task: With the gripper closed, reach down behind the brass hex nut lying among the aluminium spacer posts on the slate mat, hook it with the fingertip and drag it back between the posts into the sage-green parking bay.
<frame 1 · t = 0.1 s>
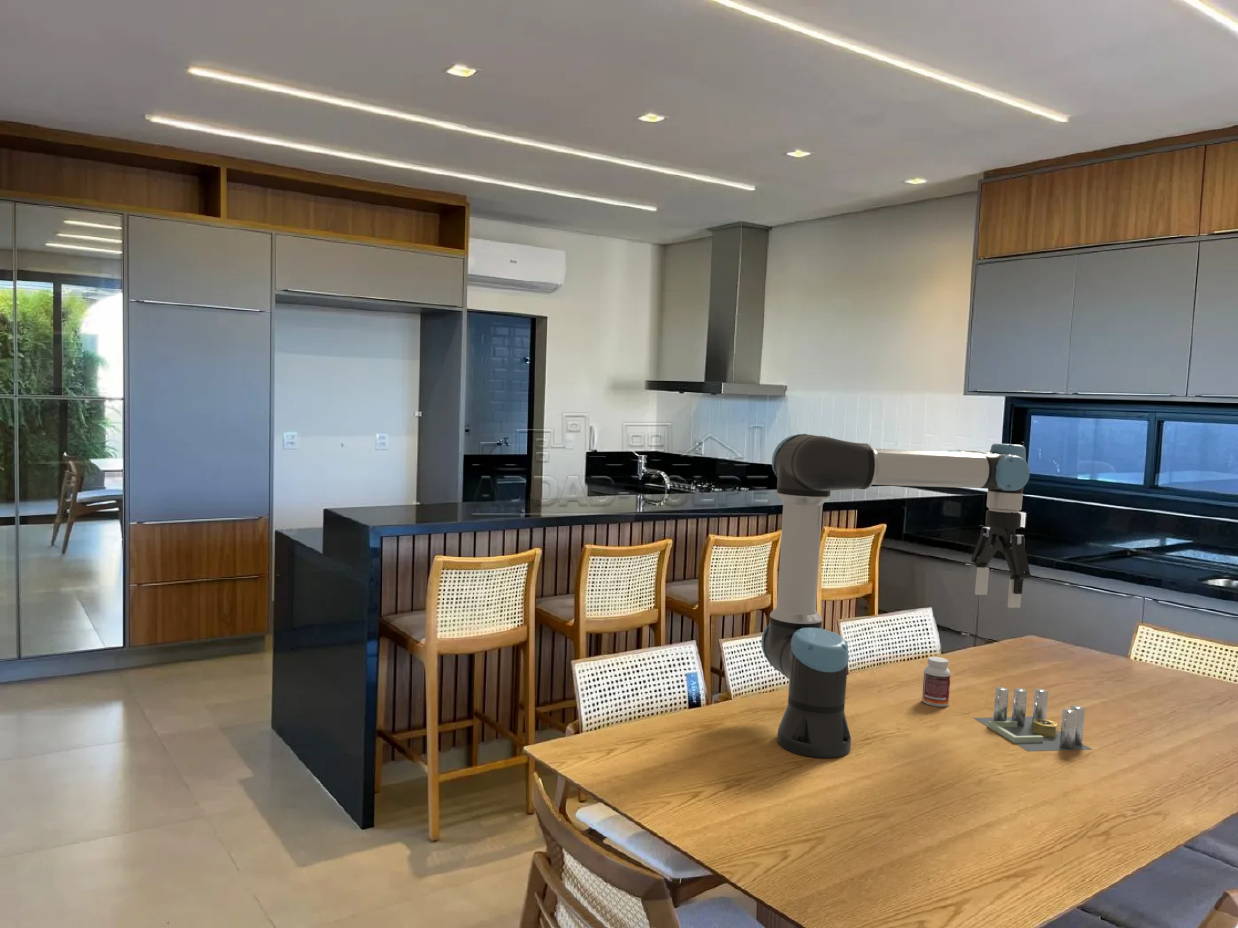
hand: (996, 600, 207), 28 cm above the table, fingers open, 13 cm apart
nut: (1044, 733, 199), resting on mat
spacer posts: (1032, 735, 198), resting on mat
bay: (1016, 735, 198), resting on mat
mat: (1030, 734, 199), on the table
pill bottle: (935, 703, 218), on the table
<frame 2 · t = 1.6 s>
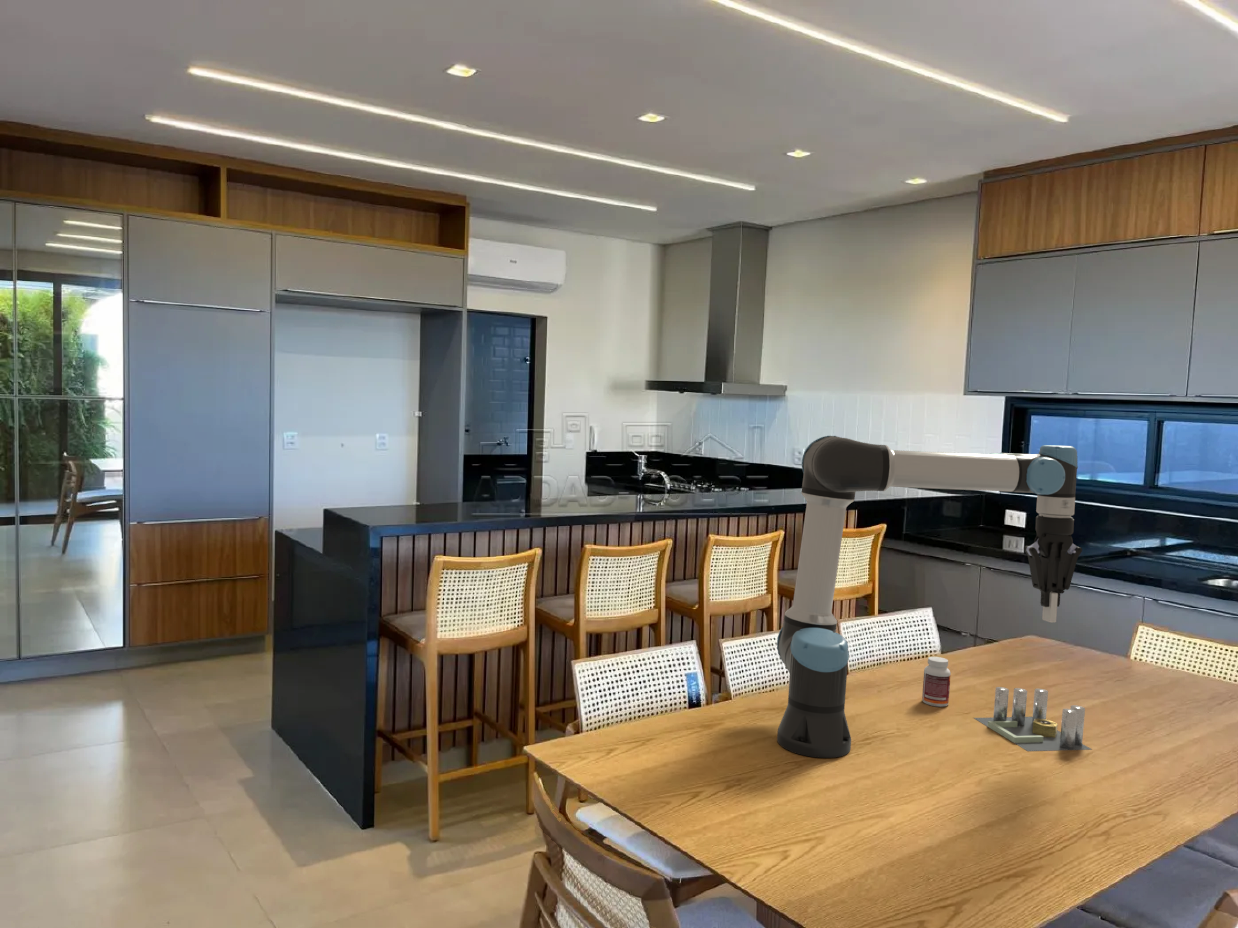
hand: (1049, 620, 197), 26 cm above the table, fingers closed
nothing on the table moved.
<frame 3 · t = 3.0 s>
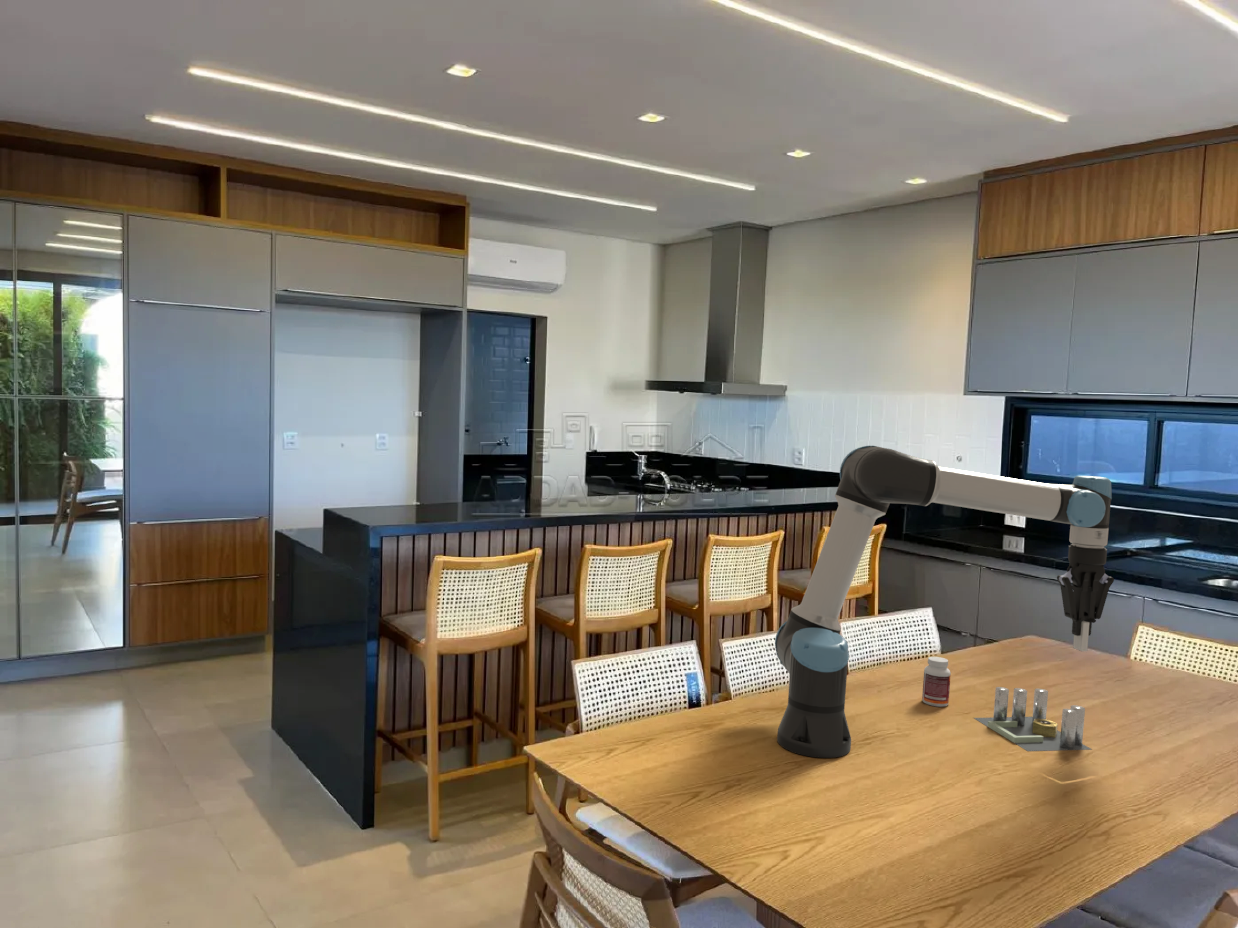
hand: (1080, 649, 199), 20 cm above the table, fingers closed
nothing on the table moved.
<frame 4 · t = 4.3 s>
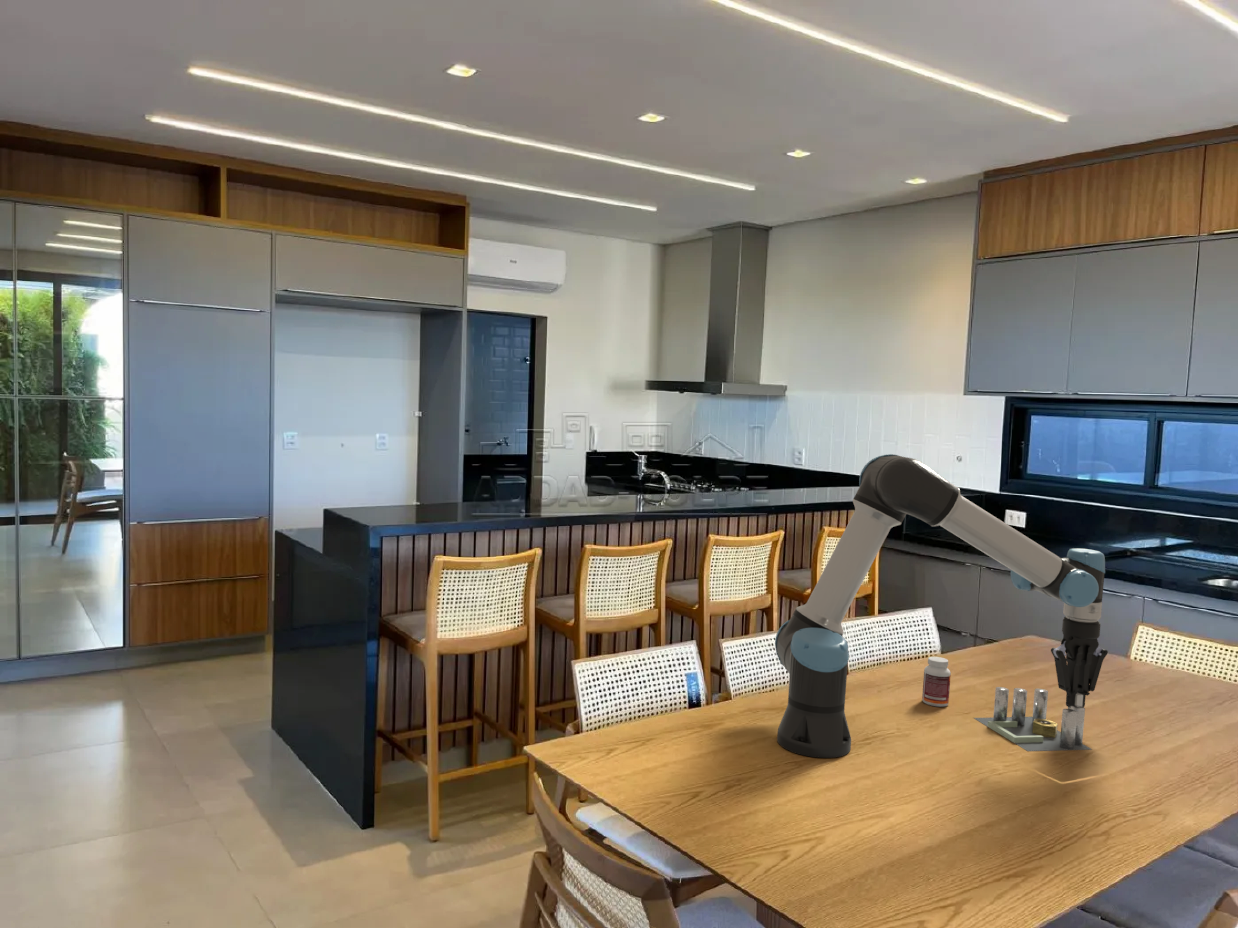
hand: (1074, 721, 200), 3 cm above the table, fingers closed
nothing on the table moved.
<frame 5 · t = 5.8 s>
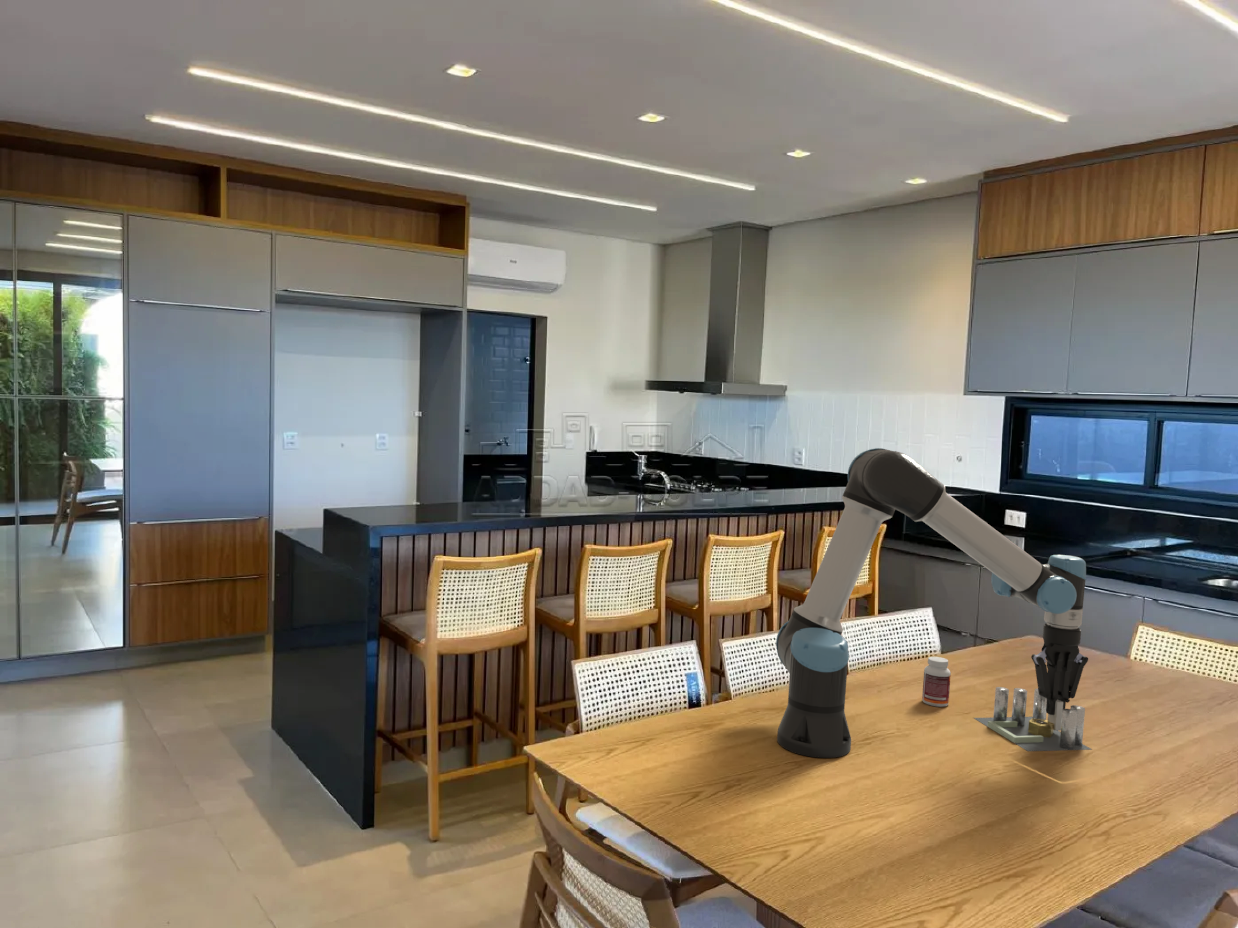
hand: (1054, 728, 199), 2 cm above the table, fingers closed
nut: (1040, 733, 199), resting on mat, touching gripper
everything else where it was.
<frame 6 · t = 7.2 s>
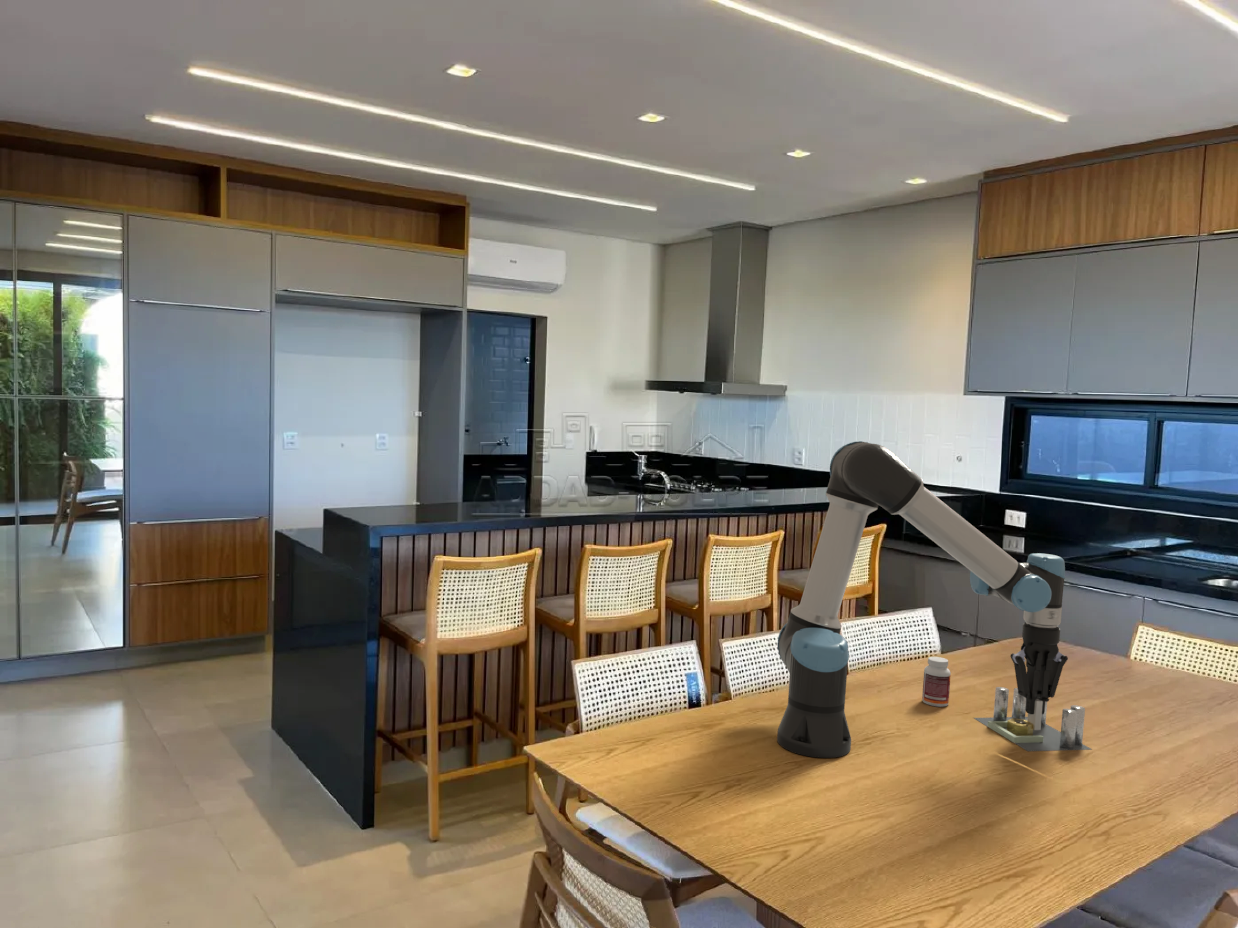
hand: (1033, 727, 198), 2 cm above the table, fingers closed
nut: (1019, 733, 198), resting on mat, touching gripper
everything else where it was.
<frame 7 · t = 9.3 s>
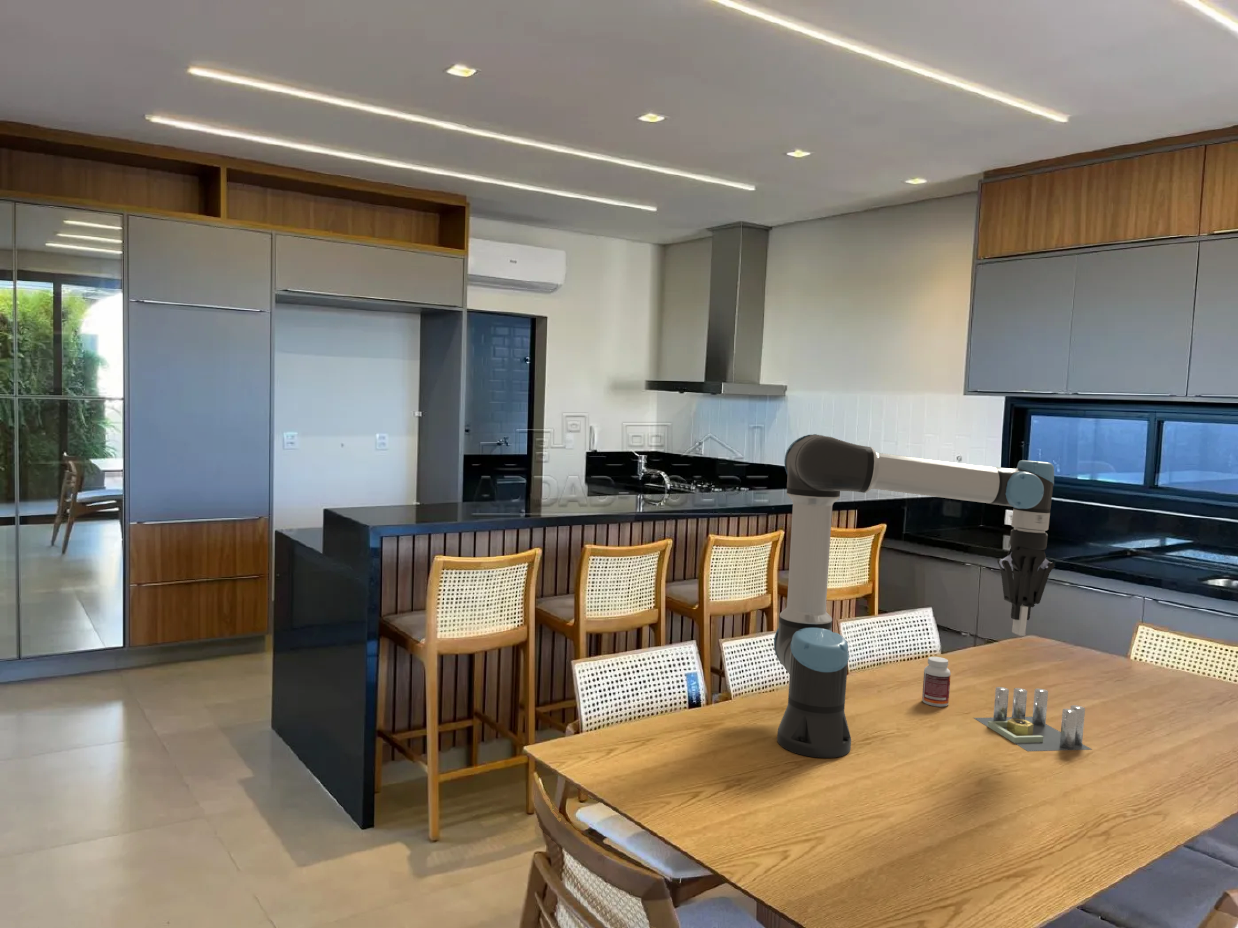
hand: (1018, 633, 199), 22 cm above the table, fingers closed
nut: (1019, 733, 198), resting on mat
everything else where it was.
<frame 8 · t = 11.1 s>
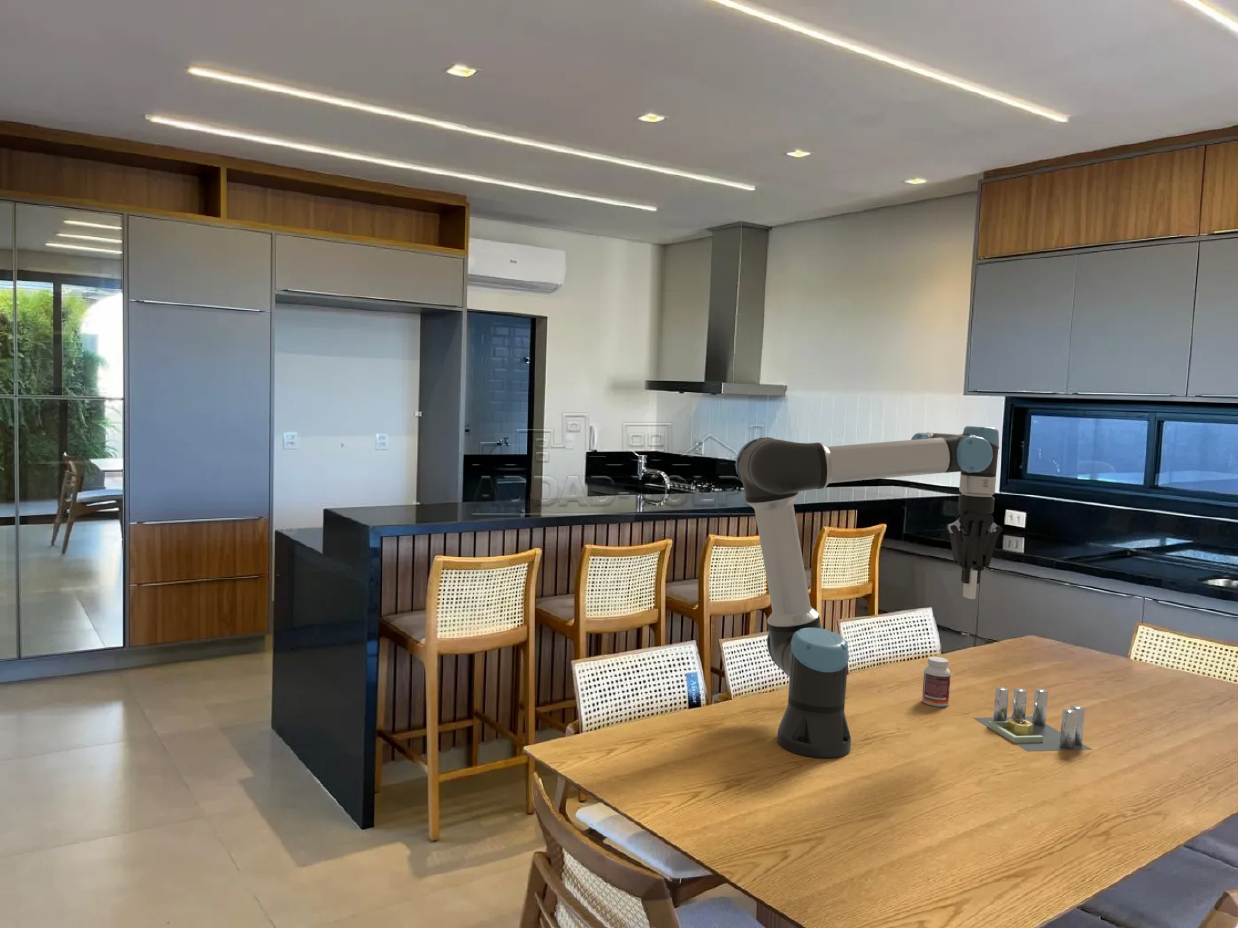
hand: (969, 597, 202), 29 cm above the table, fingers closed
nothing on the table moved.
at the end: nut 0.8 cm from the target spot, resting on mat; nut moved 5.9 cm from its start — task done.
